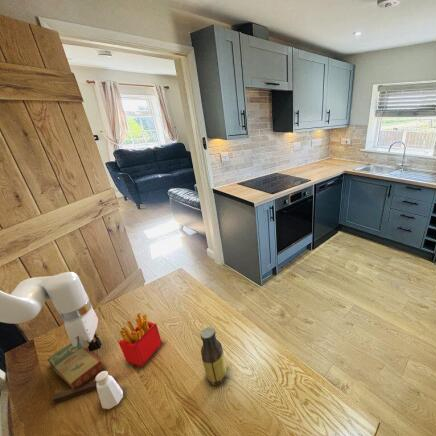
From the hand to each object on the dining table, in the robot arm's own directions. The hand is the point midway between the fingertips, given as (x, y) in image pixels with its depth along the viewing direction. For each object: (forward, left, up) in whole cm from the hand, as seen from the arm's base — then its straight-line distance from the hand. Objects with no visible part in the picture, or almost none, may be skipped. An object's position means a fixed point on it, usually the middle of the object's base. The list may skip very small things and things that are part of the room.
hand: (95, 348), depth 82 cm
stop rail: (0, -14, -2) cm, 14 cm away
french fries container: (+15, -7, -2) cm, 17 cm away
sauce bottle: (+37, -25, -2) cm, 45 cm away
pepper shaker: (+8, -20, -2) cm, 22 cm away
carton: (-4, -4, -2) cm, 6 cm away
